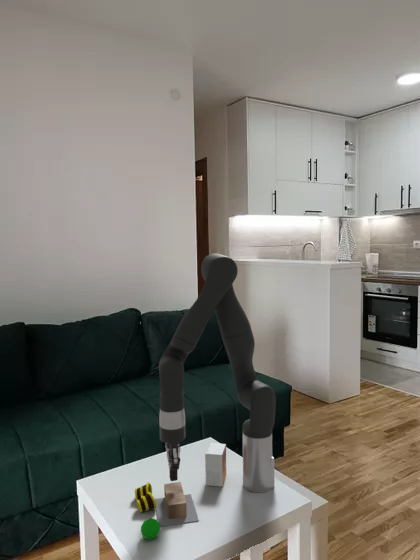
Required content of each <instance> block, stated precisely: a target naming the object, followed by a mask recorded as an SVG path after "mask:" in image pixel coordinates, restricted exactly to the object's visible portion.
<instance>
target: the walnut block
mask: <svg viewBox="0 0 420 560" xmlns="http://www.w3.org/2000/svg"><path fill="white" fill-rule="evenodd" d="M163 488H164V498H165V502H166V507H167V512H168V517H169V519H173V518H179V517H186V516H187V509H186V500H185V496H184V495H185V493H184V490H183V486H182V482H181V481H178V482H170V483H164V484H163Z"/></svg>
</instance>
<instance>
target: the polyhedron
mask: <svg viewBox="0 0 420 560" xmlns="http://www.w3.org/2000/svg"><path fill="white" fill-rule="evenodd" d="M140 532H141V535H142V536H143V538H144V539H147V540H153V539H155V538H157V537H158V535H159V534H160V532H161V527H160V524H159V523H158V519H156V518H152V517H149V518H147V519H145V520H143V523H142V524H141V527H140Z"/></svg>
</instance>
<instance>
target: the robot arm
mask: <svg viewBox="0 0 420 560" xmlns="http://www.w3.org/2000/svg"><path fill="white" fill-rule="evenodd" d="M200 266H201V267H200V273H201V277H202V278H203V280H204V284H203V286H202V289H201V290H200V294H199V295H198V296H197V297H196V300H194V302H193V304H192V305H191V306H190V308H189V309H188V310H187V312H186V313H185V314H184V315H183V317H182V319H181V320H180V322H179V324H178V326H177V328H176V330H175V332H174V334H173V337H172V339H171V341H170V342H169V344H168V346H167V347H166V348H165V350H164V352H163V354H162V355H161V357H160V359H159V362H158V371H159V382H160V384H159V385H160V386H159V387H160V393H159V414H158V415H159V416H158V417H159V440H160V441H161V442H162V443H165V450H166V459H167V463H168V469H169V480H170V482H176V481H178V471H179V469H180V463H181V458H180V457H181V456H180V454H181V445H180V443H181V442H183V441H184V440H185V438H186V414H185V413H186V412H185V395H184V389H185V388H184V385H185V366H184V364H185V363H186V360H187V359H188V356H189V354H190V353H192V352H193V351H194V350H195V348H196V346H197V343H198V341H199V340H200V338H201V337H202V334H203V332H204V330H205V328H206V326H207V324H208V323H209V320H210V318H211V317H212V315H213V313H215V315H216V316H215V317H216V320H217V324H218V327H219V331H220V332H219V333H220V334H221V338H222V342H223V345H224V348H225V351H226V354H227V358H228V360H229V364H230V367H231V369H232V375H233V377H234V385H235V389H236V395H237V399H238V401H239V403H240V404H241V406H243V407H244V408H246V409H248V410H249V418H248V419H246V420H244V422H243V423H242V485H243V488H245V489H246V490H247V491H250V492H252V493H265V492H268V491H270V490H271V489H274V488H275V457H274V456H273V429H274V426H275V421H276V406H277V404H276V403H277V402H276V401H277V399H276V394H275V391H274V389H273V387H271V386H270V385H269V384H267V383H263V382H262V381H260V380H259V379H258V376H257V374H256V370H255V367H254V362H253V359H254V358H253V357H254V354H255V353H254V352H255V345H256V344H255V338H254V334H253V333H254V332H253V331H252V326H251V323H250V320H249V319H248V316H247V315H246V312H245V311H244V309H243V307H242V305H241V303H240V301H239V300H238V298H237V296H236V293H235V289H234V285H233V283H235V280H236V279H237V277H238V276H237V275H238V272H239V271H238V265H237V263H236V261H235V260H234V259H233V258H232V257H230V256H227V255H224V254H221V253H210V254H208V255H206V256H205V257H204V259H203V260H202V262H201V265H200Z"/></svg>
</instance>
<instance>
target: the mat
mask: <svg viewBox="0 0 420 560" xmlns="http://www.w3.org/2000/svg"><path fill="white" fill-rule="evenodd" d="M184 496H185V500H186V509H187V516H186V517H179V518H173V519H169V517H168V512H167V507H166V502H165V497H161V498H160V497H159V498H154V499H155V501H156V505H157V507H156V509H155V511H156V516H157V521H158V523H159V524H160V528H161V527H169V526H177V525H184V524H189V523H195V522H199V521H200V520H199V516H198V514H197V510H196V507H195V506H196V505H195V503H194V501H193V500H194V499H193V496H192V494H190V493H189V494H184Z"/></svg>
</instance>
